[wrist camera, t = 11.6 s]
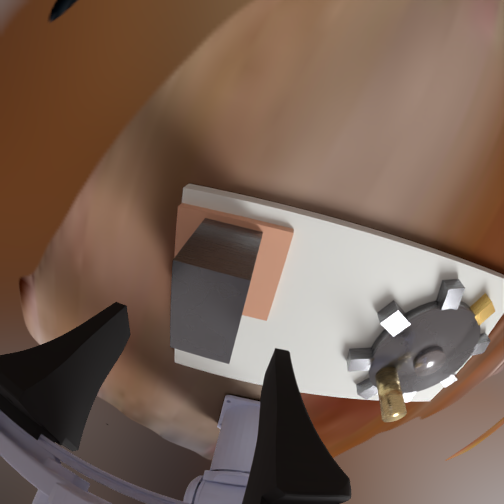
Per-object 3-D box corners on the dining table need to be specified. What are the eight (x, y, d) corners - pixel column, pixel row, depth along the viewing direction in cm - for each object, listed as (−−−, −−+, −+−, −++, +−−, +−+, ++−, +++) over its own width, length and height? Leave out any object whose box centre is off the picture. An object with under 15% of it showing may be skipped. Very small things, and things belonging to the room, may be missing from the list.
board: (427, 394, 24) (430, 405, 23) (177, 354, 25) (172, 366, 24) (515, 279, 16) (523, 289, 15) (188, 183, 17) (179, 190, 16)
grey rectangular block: (243, 308, 19) (229, 364, 15) (195, 295, 19) (170, 346, 15) (263, 232, 16) (250, 280, 12) (205, 217, 16) (172, 260, 12)
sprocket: (364, 406, 24) (368, 450, 20) (330, 322, 19) (335, 384, 14) (480, 361, 20) (496, 400, 15) (492, 255, 15) (530, 298, 10)
